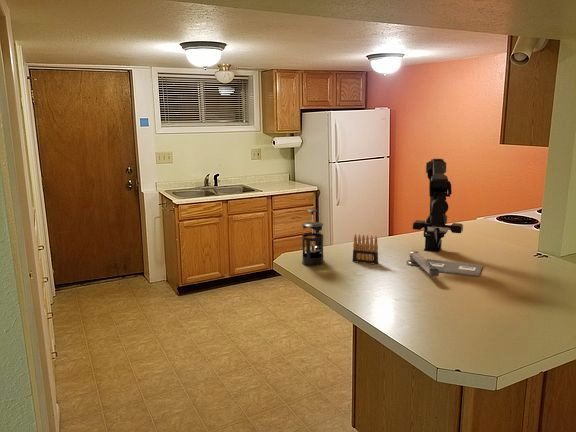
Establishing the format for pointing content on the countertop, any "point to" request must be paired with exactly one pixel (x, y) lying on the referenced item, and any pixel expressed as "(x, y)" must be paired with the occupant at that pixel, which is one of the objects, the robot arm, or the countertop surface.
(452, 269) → the label board
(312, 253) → the french press
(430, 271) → the cable arm
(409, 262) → the pivot post
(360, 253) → the ammunition clip
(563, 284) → the countertop surface
